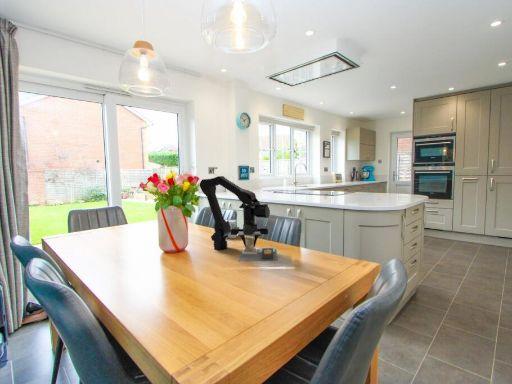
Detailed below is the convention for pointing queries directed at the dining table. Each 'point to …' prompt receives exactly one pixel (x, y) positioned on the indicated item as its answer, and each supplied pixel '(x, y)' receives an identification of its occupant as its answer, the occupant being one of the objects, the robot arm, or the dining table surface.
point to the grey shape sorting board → (258, 255)
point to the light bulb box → (232, 224)
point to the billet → (249, 244)
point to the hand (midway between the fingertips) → (250, 247)
